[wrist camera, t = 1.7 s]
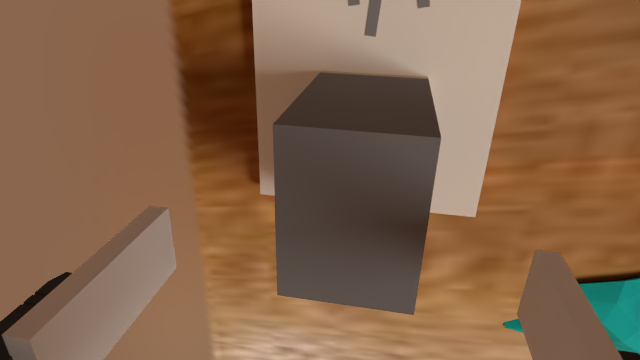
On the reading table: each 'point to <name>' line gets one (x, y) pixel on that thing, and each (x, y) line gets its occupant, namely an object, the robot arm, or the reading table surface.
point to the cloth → (612, 311)
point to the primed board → (393, 71)
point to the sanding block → (355, 189)
